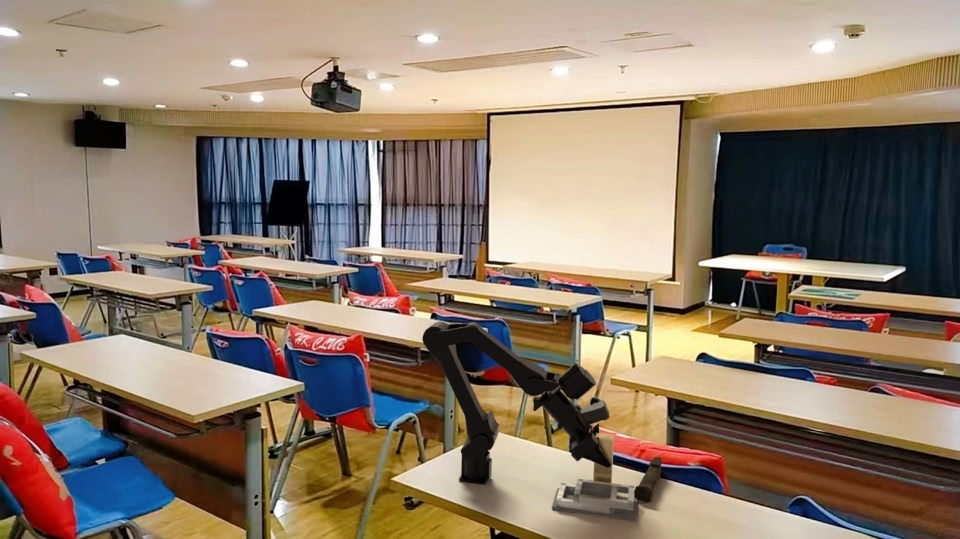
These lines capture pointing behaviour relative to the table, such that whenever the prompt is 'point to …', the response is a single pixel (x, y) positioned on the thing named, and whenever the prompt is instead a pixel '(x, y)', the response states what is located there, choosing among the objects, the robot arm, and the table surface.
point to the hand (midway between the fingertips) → (609, 461)
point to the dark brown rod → (649, 481)
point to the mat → (618, 513)
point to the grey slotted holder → (595, 496)
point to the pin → (607, 447)
